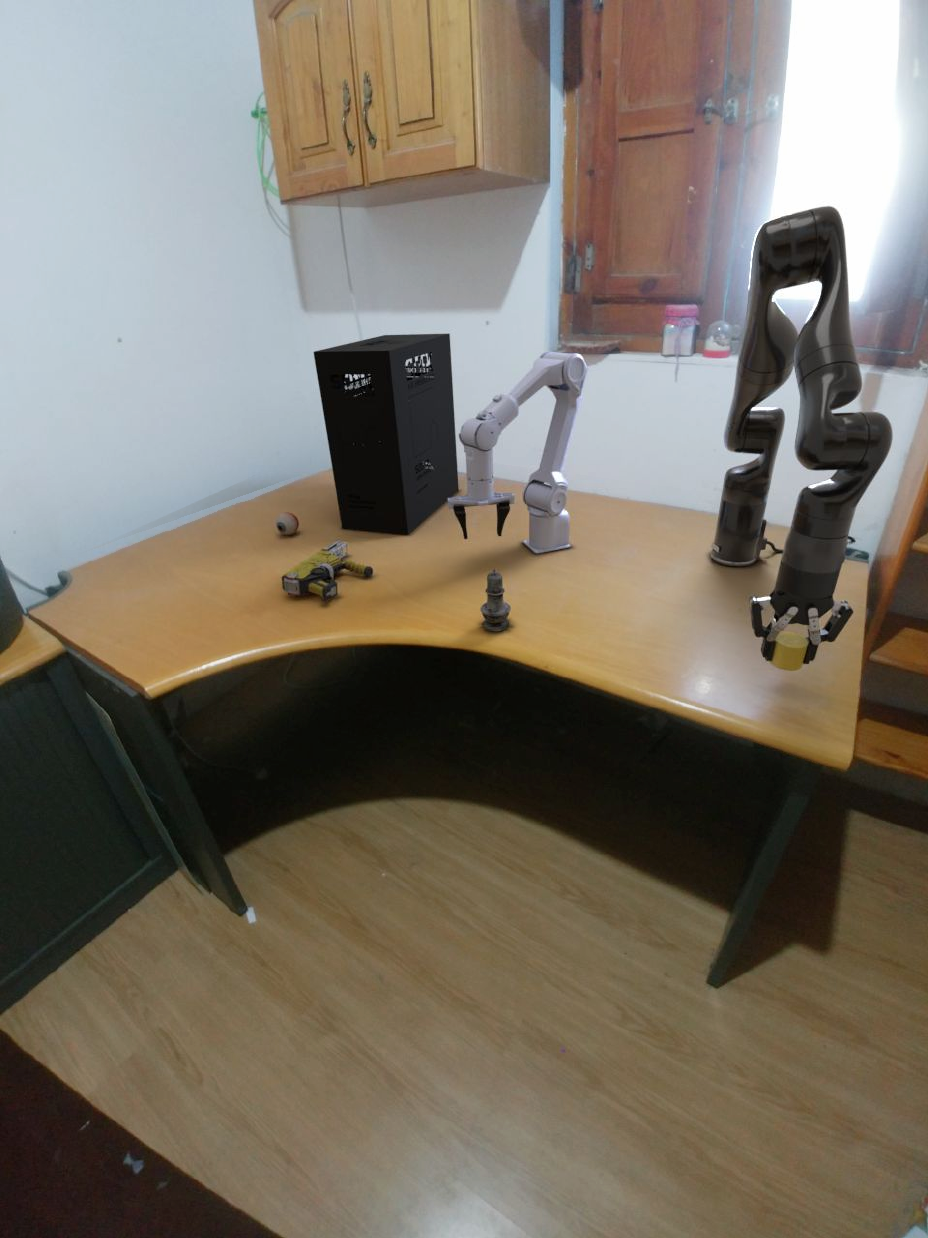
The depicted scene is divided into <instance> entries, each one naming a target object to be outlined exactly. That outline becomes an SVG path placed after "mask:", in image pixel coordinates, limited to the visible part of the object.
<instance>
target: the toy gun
mask: <svg viewBox="0 0 928 1238" xmlns="http://www.w3.org/2000/svg"><path fill="white" fill-rule="evenodd" d="M345 548H348V543H347V542H346V541H343V540H342V541H341V540H339V539H338V540H335V541H334V542H333V543H331V544H330V545H327V546H326V547H325V548H321V549H320V550H318V551H317V552H316V553H314V554H312V555H311V556H310V557H307V559H305V560H304V561H302V562H300V563H299V564H298V565H296V566H294V567H293V568H291V569H290V570H288V571H287V572H285V573H284V574H282V576H281V585H282V586H281V587H282V590H283V591H284V592H285V593H287V596H292V597H295V596H302V597H303V596H307V595H310V594H315V595H318V596H320V597H322V601H323V602H325V603H327V602H328V601H330V600H332V599H333V598H335V597H337V596H338V594H339V593H338V582H337V581H336V580H334V578H335V577H334V575H336V574H337V573H340V572H342V571H343V570H346V571H349V572H353V573H355V574H358V575H361V576H364V577H366V578H370V577H372V576H373V575H374V569H373V567H372V566H370V565H365V564H361V563H359V562H357V561H352V560H349V559H347V560H345V561H344V562H342V560H343V558H344V557H347V556H348V554H349V553H348V549H346V552H344V549H345Z"/></svg>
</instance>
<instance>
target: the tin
mask: <svg viewBox="0 0 928 1238" xmlns="http://www.w3.org/2000/svg"><path fill="white" fill-rule="evenodd" d="M775 641H776V644H775V648H774V652H773V656H772V660H771V661H768V662H769V663H770V664H771V665H772V666H773V667H775V668H777V669H779V670H782V671H788V672H791V671H793V672H794V671H799V670H801V669H802V667H803V665H804V664H803V661H804V658H805V654H806V650H807V647H808V640H807V639H806V636H803V635H802V634H799V633H797V632H792V631H781V632H780V633H779V634H778V636H777V637H776V639H775Z"/></svg>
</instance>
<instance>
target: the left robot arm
mask: <svg viewBox="0 0 928 1238" xmlns="http://www.w3.org/2000/svg"><path fill="white" fill-rule="evenodd" d="M588 370H589V368H588V366H587V364H586V361H585V358H584V357H583V355H582V354H579V353H565V352H555V351H554V352H553V351H550V350H547V351H544V352H542V353H541V354H540V355H539V357H537V358H536V359H535V360H534V361H533V364H532V367H531V368H530V369H529V371H528V372H527V373H526V374H525V375H524V376H523V377H522V378H521V380H520V381H518V383H517V384H516V385H515V386H514V387H513V388H512V389H511V390H510V392H509V393H508V394H505V393H500V394H499V395H498V394H496V395H494V396H493V397H492V401H491V402H490V403H489V404H487V406H486V407H485V408H484V409H482V410H480V411H479V412H478V413H477V415H476V416H475V418H474V417H471V418H468V419H467V420H466V421H465V422H463V424H462V425H461V428H460V432H459V433H458V439H459V441H460V443H461V444H462V446H463V450H464V451H463V452H464V454H465V466H466V467H465V468H466V486H467V487H466V488H467V494H465V495H460V496H454V497H453V496H452V497H450V498H448V500H447V507H448V510H453V513H454V516H455V517H456V519H457V521H458V523H459V524H460V527H461V530H462V535H463V539H464V540H468V531H467V530H468V529H467V513H466V508H469V507H484V506H485V507H486V506H496V534H497V536H498V537H502V535H503V534H502V533H503V528H504V525H505V522H506V519H507V517H508V515H509V513H510V511H511V506H510V505H515V494H514V492H495V489H494V487H495V485H494V450H493V449H494V448H495V446H496V445H497V444H498V441H499V437H500V435H501V434H502V432H503V431H504V429H506V428H507V426H509V425H510V424H511V423H512V422H513V421H514V420H515V419H516V418H517V417H518V416H519V411H520V407H521V406H522V405H523V404H525V403H526V402H527V401H528V400H529V399H530V398H532V397H533V396H534V395H535V394H536V393H537V392H539V391H540V390H541V389H542V388H544V387H547V389H549V390H550V392H552V394H553V396H554V398H555V404H554V408H553V411H552V415H551V420H550V424H549V428H548V432H547V436H546V439H545V444H544V447H543V451H542V455H541V460H540V463H539V467H538V468H537V470H535V471H533V472H532V473H531V474H530V475H529V477H528V481H527V483H526V484H525V486H524V488H523V491H522V501H523V504H525V505H526V506H527V507H526V508H527V511H529V512H528V513H529V514H528V539H524V540H523V541H522V543H523V544H524V545H525V546H526V547H527V548H528V549H530V550H531V551H532V552H533V553H534V554H537V555H538V554H542V553H548V552H552V551H558V550H564V549H568V548H571V544H570V535H571V534H570V533H571V532H570V531H571V519H570V514H569V512H568V511H567V509H566V506H567V502H568V488H569V484H568V481H567V480H566V479H565V476H563V472H564V471H563V470H564V467H565V464H566V459H567V456H568V452H569V447H570V445H571V441H572V437H573V433H574V429H575V426H576V422H577V418H578V414H579V411H580V407H581V402H582V398H583V389H584V386H585V381H586V379H587V374H588Z"/></svg>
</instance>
